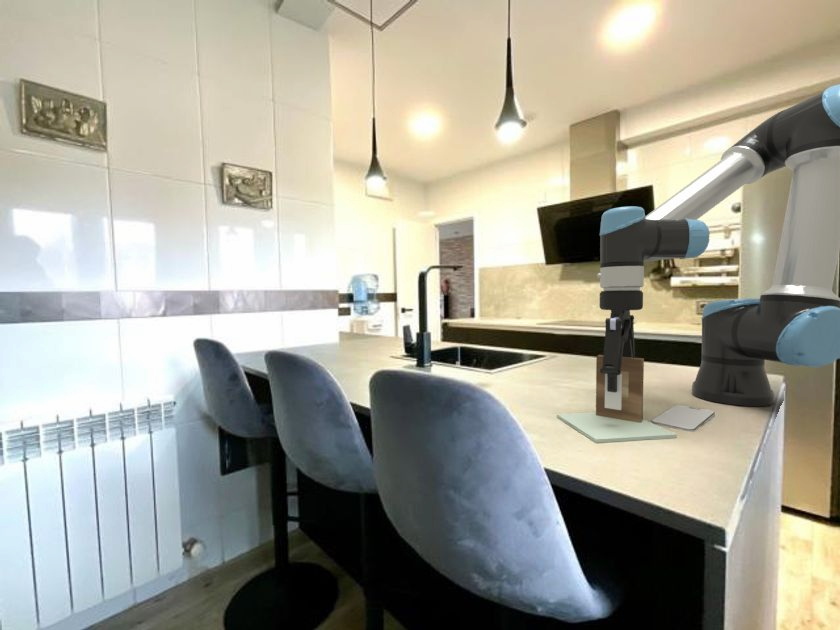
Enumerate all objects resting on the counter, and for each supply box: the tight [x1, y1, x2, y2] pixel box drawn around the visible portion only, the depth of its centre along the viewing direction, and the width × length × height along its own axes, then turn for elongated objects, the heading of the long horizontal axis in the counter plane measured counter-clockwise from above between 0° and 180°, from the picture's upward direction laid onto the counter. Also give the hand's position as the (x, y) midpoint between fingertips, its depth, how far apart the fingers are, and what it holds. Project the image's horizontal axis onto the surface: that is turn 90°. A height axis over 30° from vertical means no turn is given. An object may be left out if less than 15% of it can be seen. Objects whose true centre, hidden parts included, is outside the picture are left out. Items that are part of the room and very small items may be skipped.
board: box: [595, 354, 645, 423], centre depth 77 cm, size 2×8×12 cm, turn 52°
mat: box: [556, 411, 678, 444], centre depth 74 cm, size 15×14×1 cm
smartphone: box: [650, 404, 716, 433], centre depth 78 cm, size 7×1×15 cm
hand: (619, 401), depth 77 cm, fingers open, 10 cm apart
